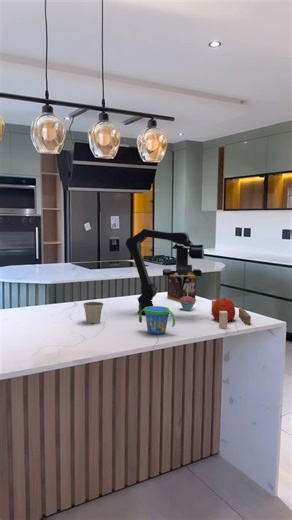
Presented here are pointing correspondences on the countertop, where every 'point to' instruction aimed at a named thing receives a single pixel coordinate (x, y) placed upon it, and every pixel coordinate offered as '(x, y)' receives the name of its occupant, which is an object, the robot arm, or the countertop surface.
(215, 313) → the apple
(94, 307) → the flower pot
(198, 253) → the robot arm
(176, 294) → the supplement box
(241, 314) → the batten
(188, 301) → the cupcake
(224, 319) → the beige upright piece
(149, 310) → the snack cup
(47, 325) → the countertop surface
